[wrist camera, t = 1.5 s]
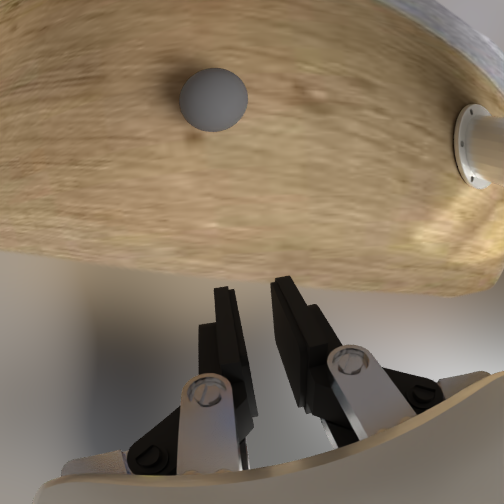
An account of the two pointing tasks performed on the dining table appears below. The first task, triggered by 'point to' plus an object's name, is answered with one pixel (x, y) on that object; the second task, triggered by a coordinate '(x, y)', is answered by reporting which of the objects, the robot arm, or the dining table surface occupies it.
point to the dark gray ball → (213, 99)
